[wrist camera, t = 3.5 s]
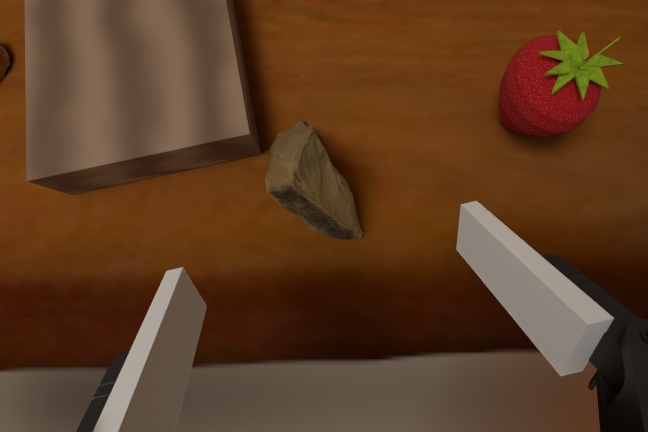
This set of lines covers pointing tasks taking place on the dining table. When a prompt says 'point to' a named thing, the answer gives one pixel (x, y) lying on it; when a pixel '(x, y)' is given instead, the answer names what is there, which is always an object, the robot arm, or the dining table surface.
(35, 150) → the walnut base
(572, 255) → the dining table surface
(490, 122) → the dining table surface
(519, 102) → the strawberry
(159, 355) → the robot arm
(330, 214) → the rock
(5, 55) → the pastry
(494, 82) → the dining table surface
